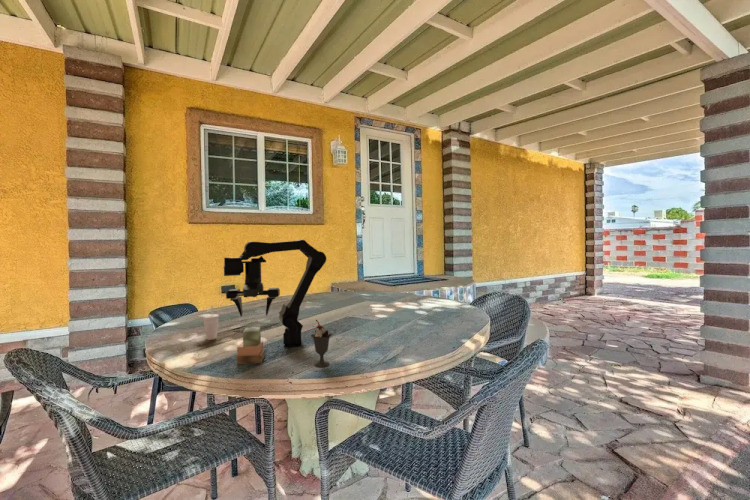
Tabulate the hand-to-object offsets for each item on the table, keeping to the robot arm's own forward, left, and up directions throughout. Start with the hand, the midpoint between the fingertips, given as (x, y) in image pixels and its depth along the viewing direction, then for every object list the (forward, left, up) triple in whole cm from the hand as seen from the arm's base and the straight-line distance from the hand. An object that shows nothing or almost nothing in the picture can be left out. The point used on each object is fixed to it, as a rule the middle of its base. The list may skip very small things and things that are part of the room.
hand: (254, 315), depth 139 cm
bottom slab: (-1, +11, -14) cm, 18 cm away
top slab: (-1, +11, -10) cm, 15 cm away
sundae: (-25, +21, -13) cm, 35 cm away
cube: (-1, +11, -8) cm, 13 cm away
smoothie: (+21, -19, -13) cm, 31 cm away
